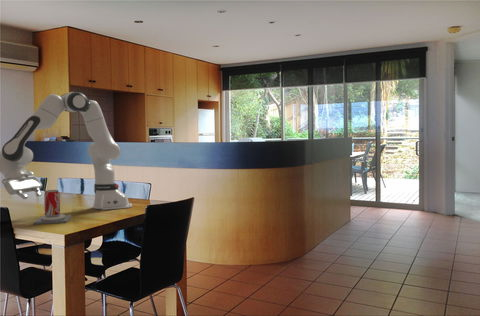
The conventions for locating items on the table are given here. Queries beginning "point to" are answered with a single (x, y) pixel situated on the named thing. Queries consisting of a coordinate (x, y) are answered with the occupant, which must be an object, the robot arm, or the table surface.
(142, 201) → the table surface
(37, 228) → the table surface
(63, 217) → the slate can stand
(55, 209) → the soda can
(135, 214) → the table surface
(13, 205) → the table surface
